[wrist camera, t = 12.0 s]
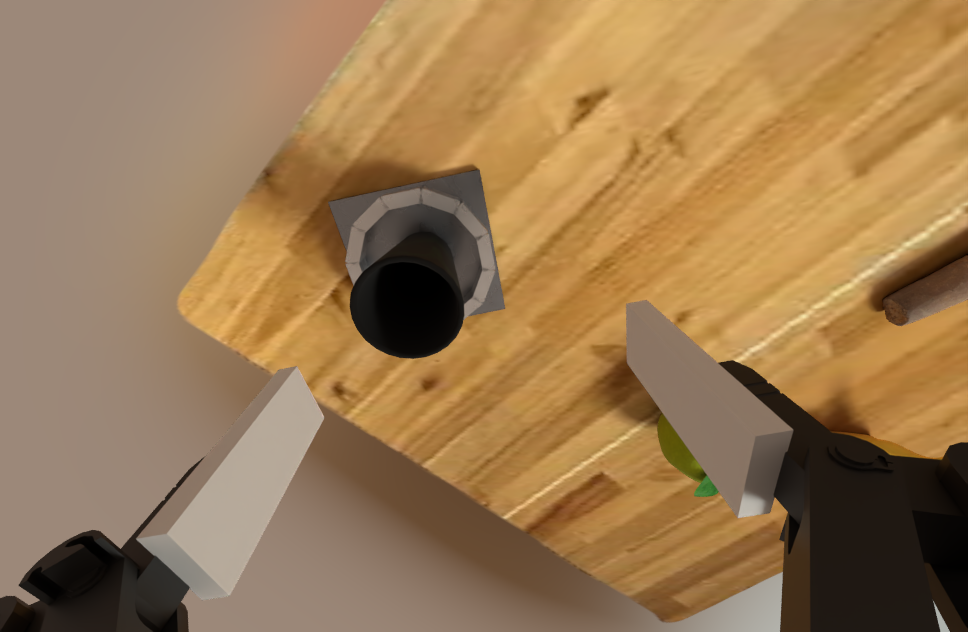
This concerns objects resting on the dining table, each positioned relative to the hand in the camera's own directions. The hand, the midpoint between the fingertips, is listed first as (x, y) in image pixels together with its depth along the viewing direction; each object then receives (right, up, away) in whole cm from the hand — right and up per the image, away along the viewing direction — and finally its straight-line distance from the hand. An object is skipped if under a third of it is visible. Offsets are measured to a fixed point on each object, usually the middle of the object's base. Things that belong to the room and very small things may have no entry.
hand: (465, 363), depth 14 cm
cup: (-5, +8, +21) cm, 22 cm away
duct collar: (-5, +8, +21) cm, 23 cm away
